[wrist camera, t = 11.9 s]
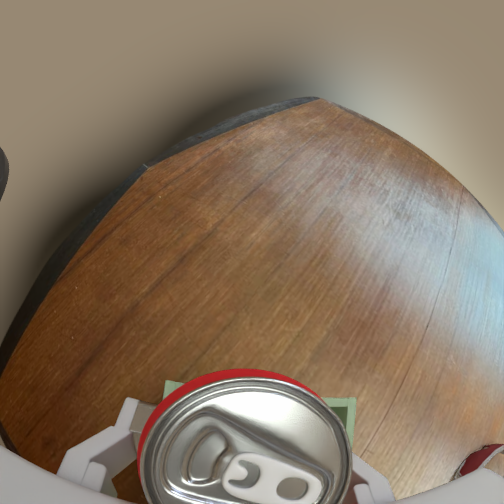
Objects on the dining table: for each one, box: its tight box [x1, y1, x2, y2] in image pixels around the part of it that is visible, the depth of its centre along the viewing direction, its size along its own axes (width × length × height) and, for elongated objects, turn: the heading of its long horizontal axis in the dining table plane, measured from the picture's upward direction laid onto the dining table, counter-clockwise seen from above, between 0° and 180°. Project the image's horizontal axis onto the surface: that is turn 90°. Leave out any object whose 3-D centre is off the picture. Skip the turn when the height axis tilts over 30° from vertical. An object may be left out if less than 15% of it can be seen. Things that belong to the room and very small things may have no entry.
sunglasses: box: [454, 444, 504, 479], centre depth 22 cm, size 17×17×5 cm
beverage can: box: [137, 369, 353, 504], centre depth 10 cm, size 5×5×12 cm
